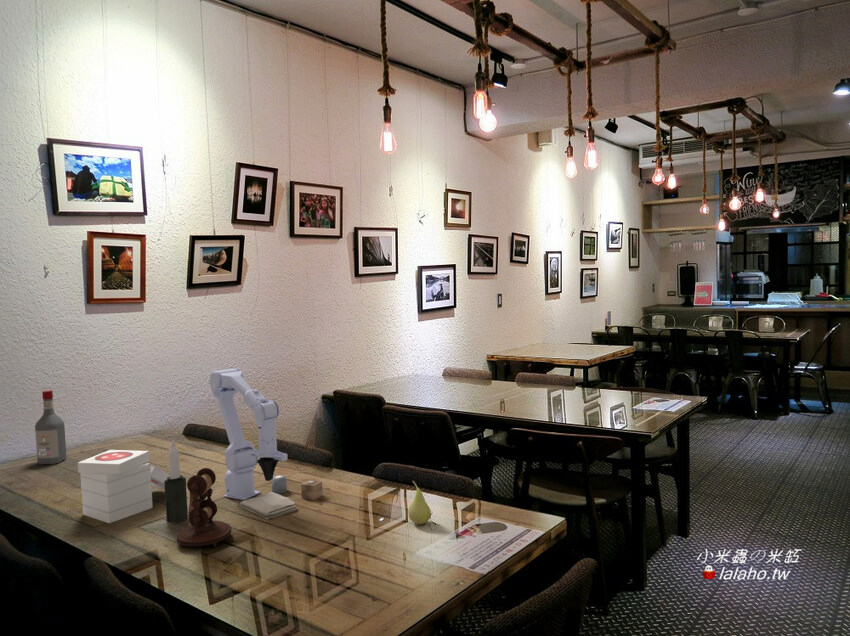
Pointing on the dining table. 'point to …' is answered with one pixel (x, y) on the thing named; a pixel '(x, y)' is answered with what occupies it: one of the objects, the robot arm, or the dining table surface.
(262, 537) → the dining table surface
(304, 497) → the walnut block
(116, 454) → the pizza boxes
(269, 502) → the washcloth
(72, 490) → the dining table surface
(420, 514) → the fruit
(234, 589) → the dining table surface
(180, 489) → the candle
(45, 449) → the liquor
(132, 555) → the dining table surface
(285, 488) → the slate cylinder
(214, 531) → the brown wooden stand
